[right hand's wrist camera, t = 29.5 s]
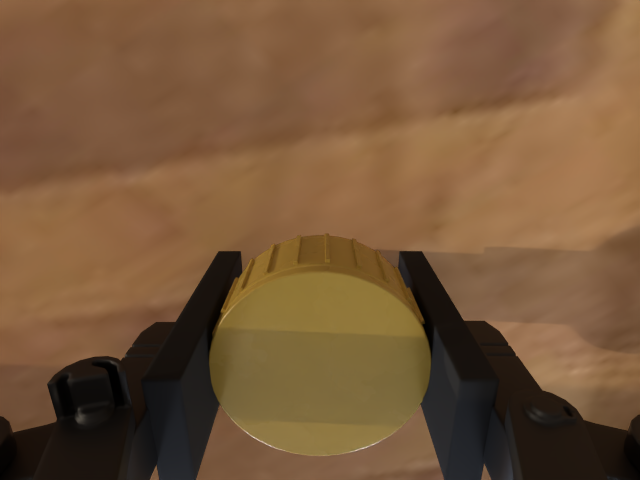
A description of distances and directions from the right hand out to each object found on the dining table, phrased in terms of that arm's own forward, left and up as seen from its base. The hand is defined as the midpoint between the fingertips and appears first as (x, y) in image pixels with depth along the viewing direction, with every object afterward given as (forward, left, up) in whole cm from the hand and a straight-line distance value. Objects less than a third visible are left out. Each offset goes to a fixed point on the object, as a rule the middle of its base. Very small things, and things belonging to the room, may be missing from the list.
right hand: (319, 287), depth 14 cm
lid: (0, 0, +4) cm, 4 cm away
